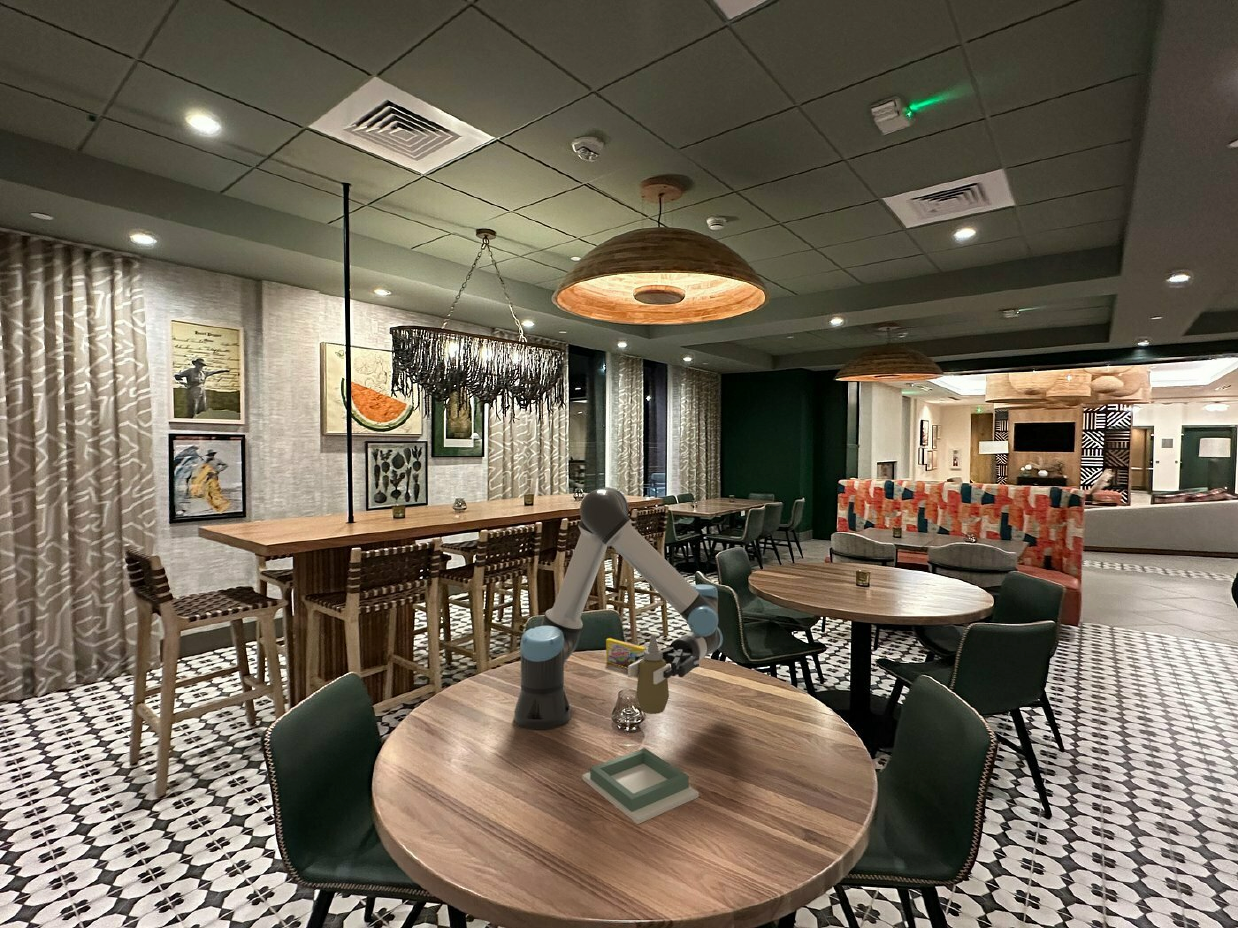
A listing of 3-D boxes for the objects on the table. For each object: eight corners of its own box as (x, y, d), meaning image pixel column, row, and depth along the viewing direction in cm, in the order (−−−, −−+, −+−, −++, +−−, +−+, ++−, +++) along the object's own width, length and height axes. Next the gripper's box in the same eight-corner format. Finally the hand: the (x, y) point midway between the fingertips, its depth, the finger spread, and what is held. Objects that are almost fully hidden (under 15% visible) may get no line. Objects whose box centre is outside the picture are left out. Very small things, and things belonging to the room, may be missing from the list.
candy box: (605, 662, 208) (605, 638, 208) (609, 661, 209) (609, 637, 209) (642, 673, 197) (642, 648, 197) (646, 671, 199) (646, 646, 199)
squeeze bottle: (666, 718, 142) (667, 642, 142) (633, 714, 144) (634, 640, 144) (670, 704, 150) (671, 632, 150) (638, 701, 152) (639, 630, 152)
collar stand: (582, 779, 132) (582, 763, 132) (639, 758, 141) (639, 743, 141) (637, 824, 116) (637, 806, 116) (698, 796, 125) (698, 780, 125)
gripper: (720, 671, 156) (677, 700, 137) (656, 656, 167) (608, 681, 148) (720, 642, 156) (678, 667, 137) (656, 629, 167) (608, 651, 148)
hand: (641, 674), depth 143 cm, fingers closed on squeeze bottle, 6 cm apart
